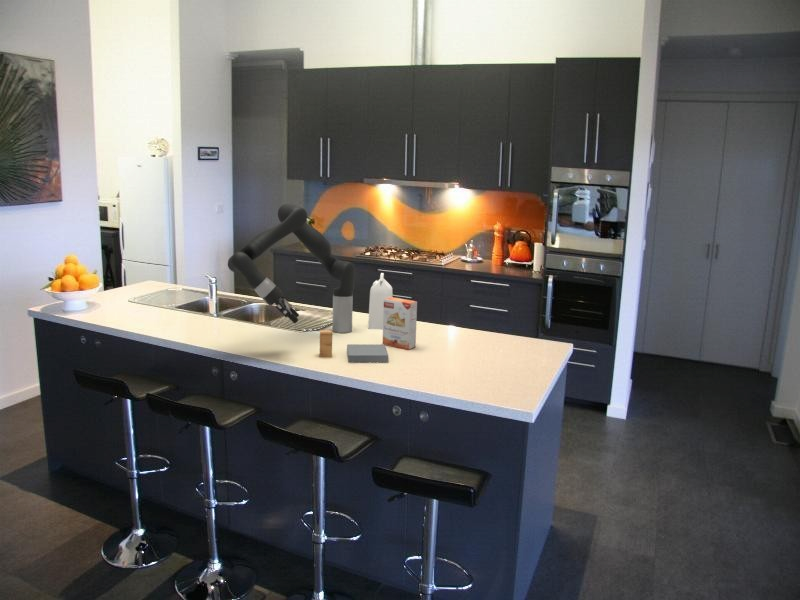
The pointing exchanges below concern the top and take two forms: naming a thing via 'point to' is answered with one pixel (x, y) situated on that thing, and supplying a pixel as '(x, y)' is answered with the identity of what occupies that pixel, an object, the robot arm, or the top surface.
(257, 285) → the robot arm
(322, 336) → the orange block
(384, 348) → the grey plinth
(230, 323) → the top surface
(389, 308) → the cracker box
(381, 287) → the milk
